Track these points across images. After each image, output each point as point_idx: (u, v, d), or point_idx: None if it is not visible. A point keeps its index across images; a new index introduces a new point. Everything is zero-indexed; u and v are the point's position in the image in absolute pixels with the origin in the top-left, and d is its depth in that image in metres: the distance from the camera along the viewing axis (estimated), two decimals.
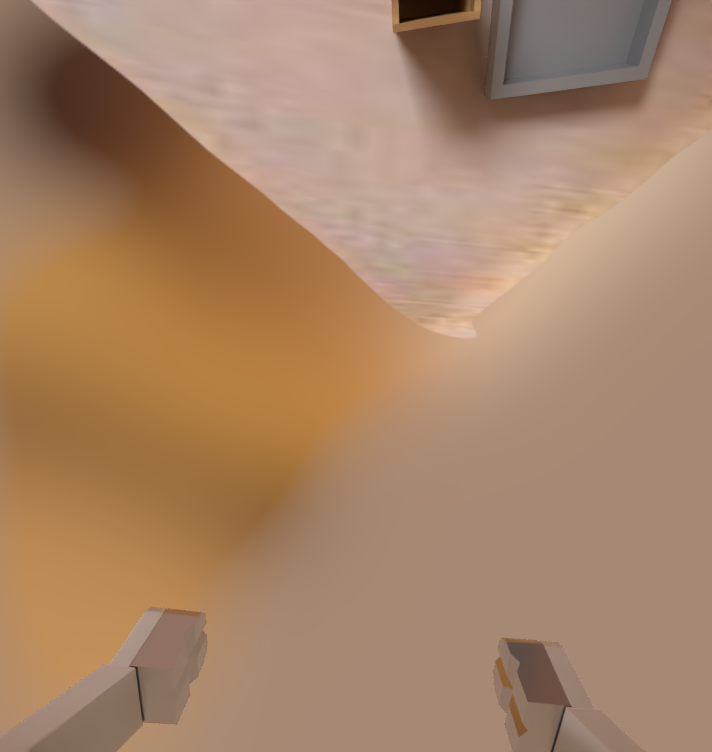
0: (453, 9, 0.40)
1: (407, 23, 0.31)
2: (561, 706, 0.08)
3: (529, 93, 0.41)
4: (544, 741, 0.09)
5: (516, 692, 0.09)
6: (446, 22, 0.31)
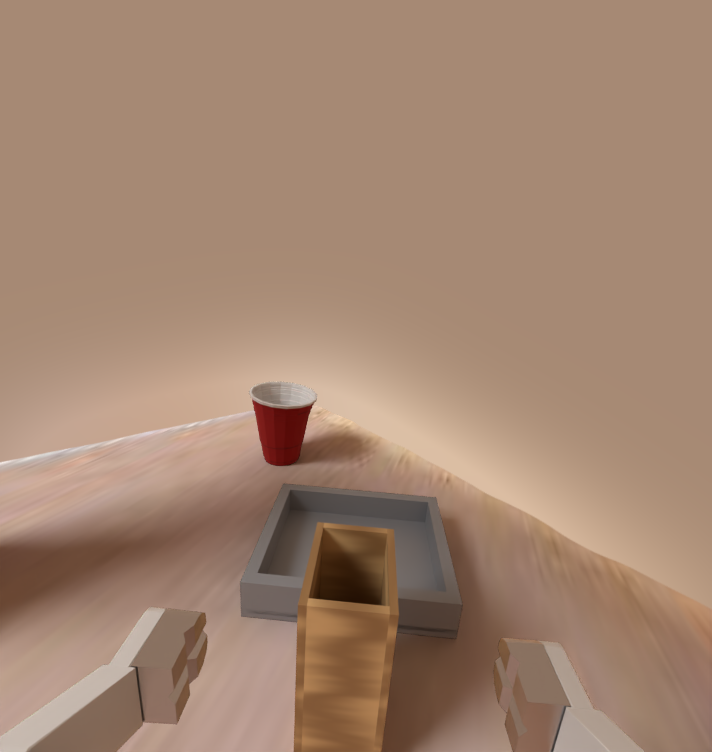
0: None
1: (390, 596, 0.22)
2: (561, 706, 0.08)
3: (452, 568, 0.37)
4: (544, 741, 0.09)
5: (516, 693, 0.09)
6: (393, 556, 0.25)
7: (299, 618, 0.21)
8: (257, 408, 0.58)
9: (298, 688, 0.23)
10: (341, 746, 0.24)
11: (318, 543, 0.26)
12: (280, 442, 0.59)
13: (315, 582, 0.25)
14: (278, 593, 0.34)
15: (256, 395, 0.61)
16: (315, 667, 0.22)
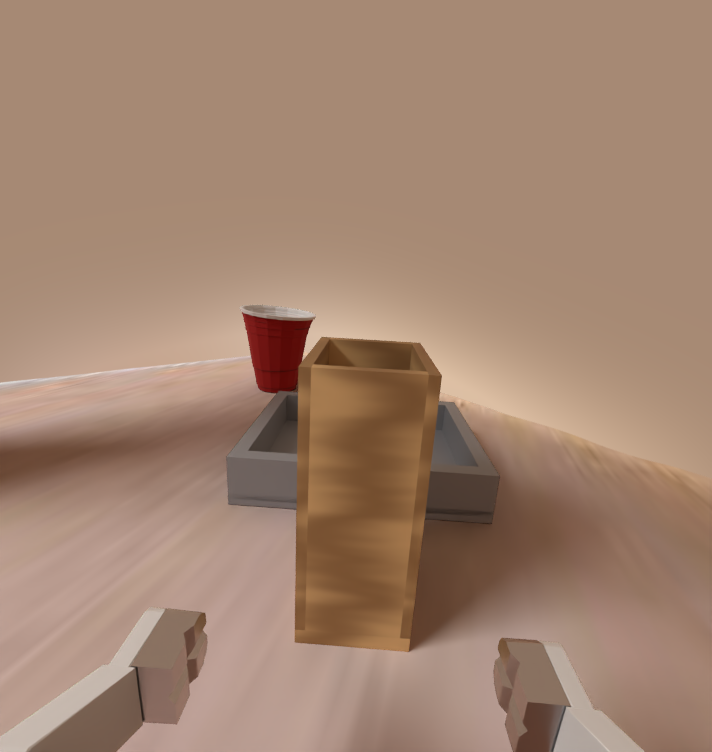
0: None
1: (426, 367, 0.16)
2: (561, 706, 0.08)
3: (482, 449, 0.31)
4: (544, 741, 0.09)
5: (516, 693, 0.09)
6: (424, 352, 0.19)
7: (300, 389, 0.15)
8: (249, 323, 0.52)
9: (300, 509, 0.16)
10: (360, 601, 0.18)
11: (324, 344, 0.19)
12: (276, 363, 0.53)
13: None
14: (273, 470, 0.28)
15: None
16: (323, 472, 0.16)
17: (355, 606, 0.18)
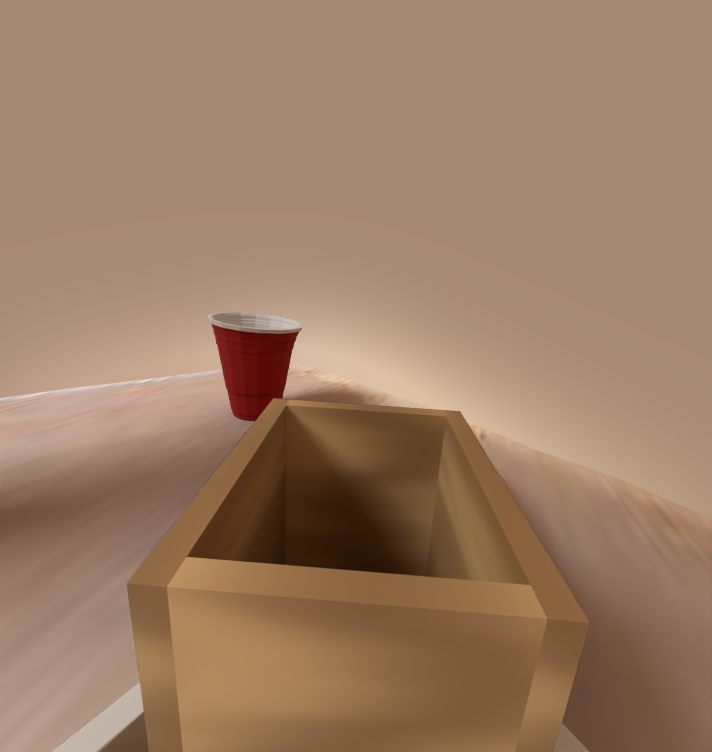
0: None
1: (517, 549, 0.06)
2: None
3: None
4: None
5: None
6: (481, 452, 0.09)
7: (142, 644, 0.05)
8: (218, 336, 0.41)
9: None
10: None
11: (267, 428, 0.09)
12: (252, 386, 0.43)
13: (254, 530, 0.08)
14: None
15: None
16: None
17: None
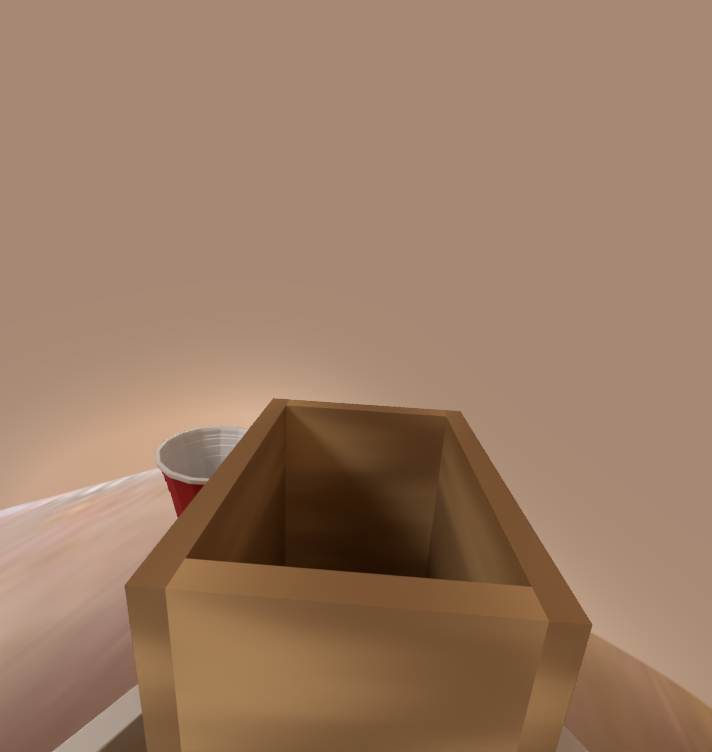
0: None
1: (518, 550, 0.06)
2: None
3: None
4: None
5: None
6: (481, 452, 0.09)
7: (141, 646, 0.05)
8: (167, 481, 0.33)
9: None
10: None
11: (267, 428, 0.09)
12: None
13: (253, 530, 0.08)
14: None
15: (174, 453, 0.37)
16: None
17: None
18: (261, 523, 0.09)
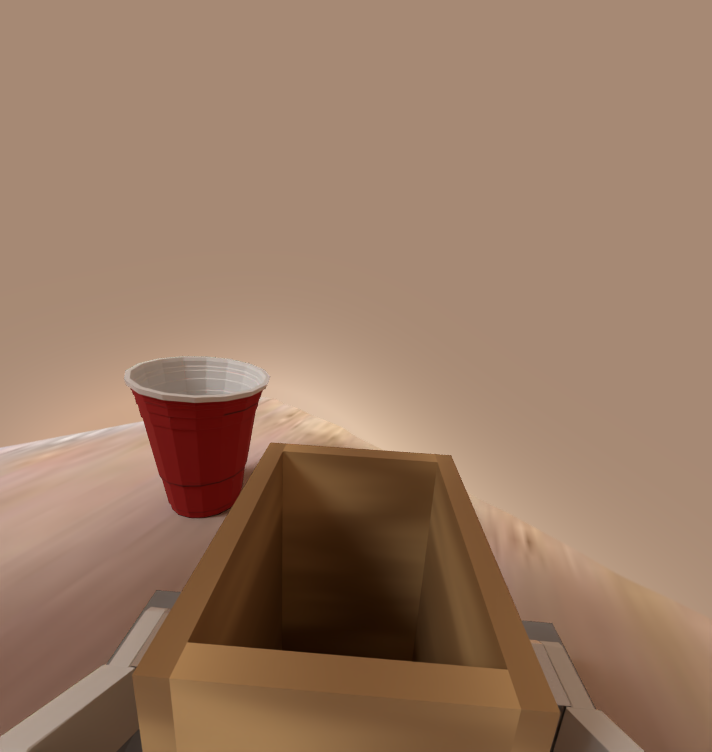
0: None
1: (497, 626, 0.06)
2: (561, 706, 0.08)
3: None
4: None
5: None
6: (469, 507, 0.09)
7: (146, 728, 0.05)
8: (139, 403, 0.28)
9: None
10: None
11: (264, 480, 0.10)
12: (192, 474, 0.29)
13: (251, 584, 0.09)
14: None
15: (150, 379, 0.31)
16: None
17: None
18: (258, 573, 0.09)
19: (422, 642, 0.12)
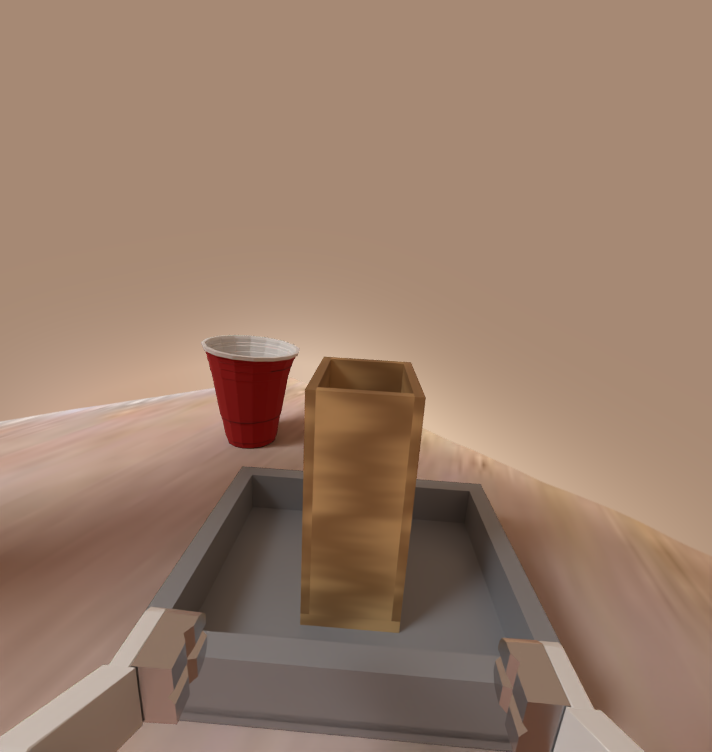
0: None
1: (413, 389, 0.19)
2: (561, 706, 0.08)
3: (540, 606, 0.20)
4: (544, 741, 0.09)
5: (516, 692, 0.09)
6: (413, 373, 0.22)
7: (307, 408, 0.18)
8: (212, 364, 0.40)
9: (306, 509, 0.19)
10: (356, 588, 0.20)
11: (326, 365, 0.22)
12: (247, 414, 0.41)
13: None
14: None
15: (214, 350, 0.44)
16: (326, 478, 0.19)
17: (352, 593, 0.21)
18: None
19: None
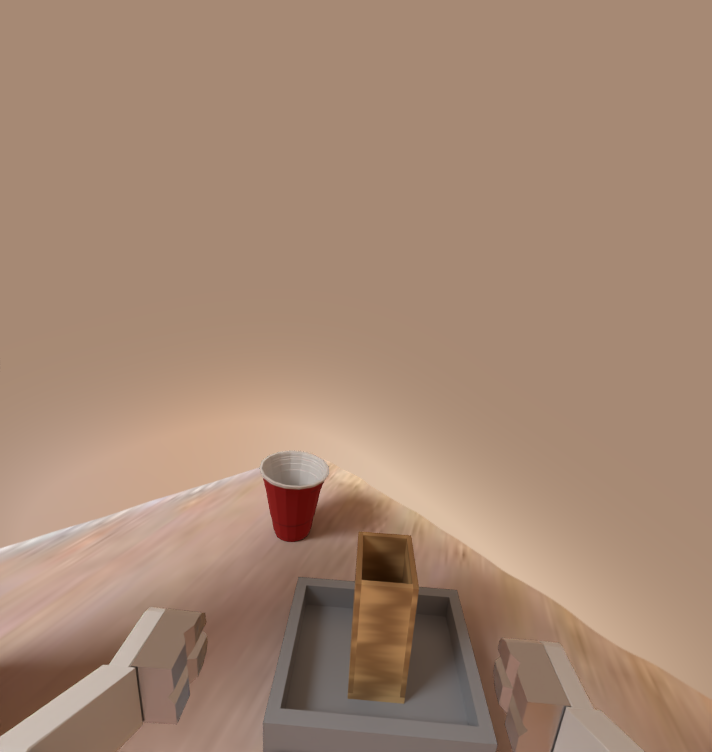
0: None
1: (412, 578, 0.34)
2: (561, 706, 0.08)
3: (482, 691, 0.36)
4: (544, 741, 0.09)
5: (516, 692, 0.09)
6: (412, 553, 0.37)
7: (356, 592, 0.34)
8: (268, 486, 0.56)
9: (353, 639, 0.35)
10: (380, 680, 0.36)
11: (361, 545, 0.38)
12: (292, 520, 0.57)
13: None
14: (303, 733, 0.32)
15: (266, 469, 0.60)
16: (365, 625, 0.35)
17: (378, 682, 0.36)
18: None
19: None
